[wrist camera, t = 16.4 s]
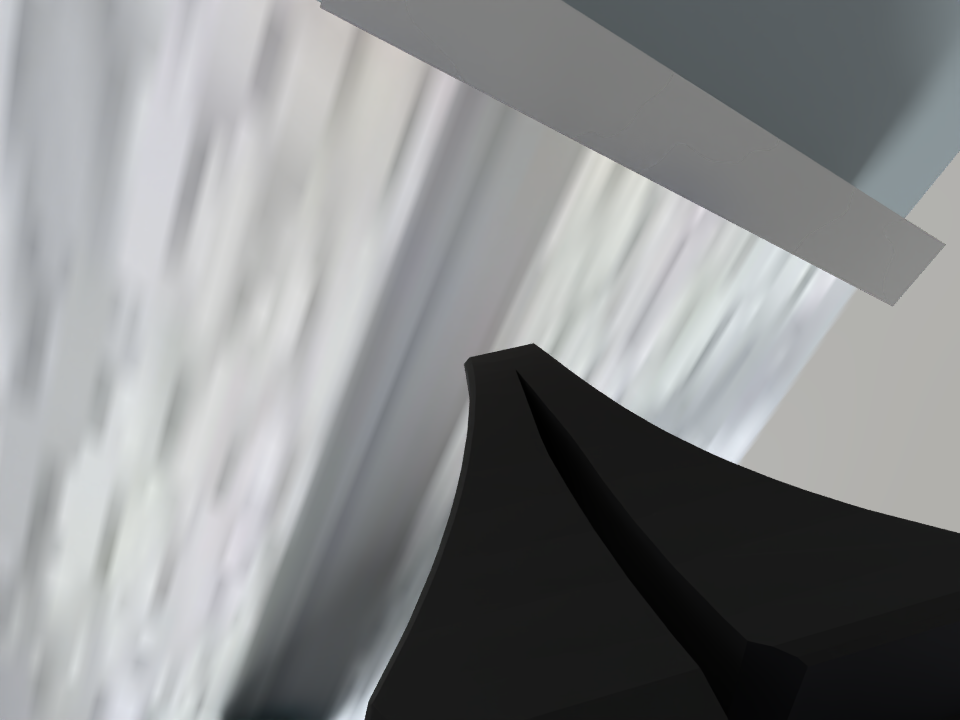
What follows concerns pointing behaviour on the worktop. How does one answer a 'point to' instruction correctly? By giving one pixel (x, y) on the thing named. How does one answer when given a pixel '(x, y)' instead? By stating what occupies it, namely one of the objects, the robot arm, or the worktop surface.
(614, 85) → the lid
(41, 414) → the worktop surface
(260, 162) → the worktop surface
